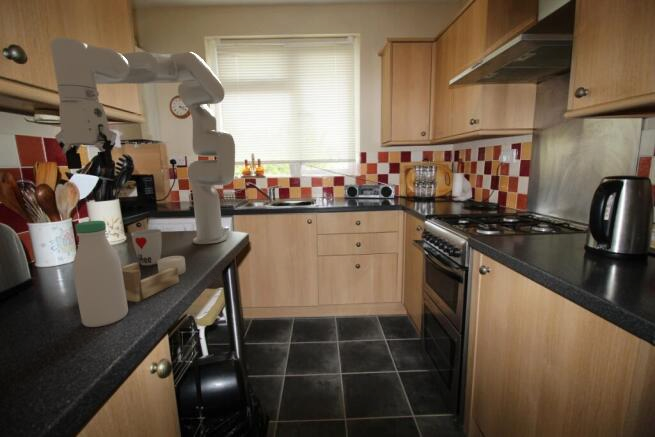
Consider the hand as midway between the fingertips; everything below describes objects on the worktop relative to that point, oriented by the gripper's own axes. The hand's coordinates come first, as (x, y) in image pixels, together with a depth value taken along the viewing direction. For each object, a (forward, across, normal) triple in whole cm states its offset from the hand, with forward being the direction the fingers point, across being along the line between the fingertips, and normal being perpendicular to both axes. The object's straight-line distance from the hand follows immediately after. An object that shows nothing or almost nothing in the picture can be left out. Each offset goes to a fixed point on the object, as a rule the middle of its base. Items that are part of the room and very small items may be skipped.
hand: (90, 168), depth 78 cm
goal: (+30, -12, +2) cm, 32 cm away
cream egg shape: (+30, -13, -8) cm, 34 cm away
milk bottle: (+30, -18, +17) cm, 39 cm away
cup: (+30, 0, -15) cm, 34 cm away
